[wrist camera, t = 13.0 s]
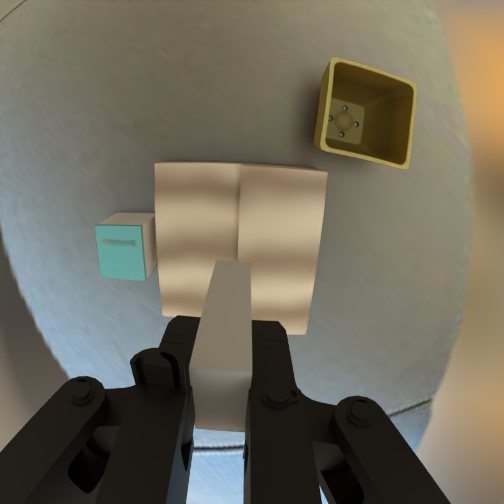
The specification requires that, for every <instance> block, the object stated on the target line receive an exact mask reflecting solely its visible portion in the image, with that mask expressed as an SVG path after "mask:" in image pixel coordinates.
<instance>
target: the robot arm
mask: <svg viewBox="0 0 504 504" xmlns="http://www.w3.org/2000/svg"><path fill="white" fill-rule="evenodd" d="M130 365H131V369H132V373H133V376H134V380H135V384H136V385H134V386H131V387H126V388H115V389H104V387H103V385H102V383H101V382H99V381H98V380H97V379H95V378H92V377H89V376H79V377H76V378H72V379H70V380H69V381H67V382H66V383H65V384H63V386H62V387H61V388H60V389H59V390H58V391H57V392H56V393H55V394H54V395H53V396H52V397H51V398H50V399H49V400H48V401H47V402H46V403H45V404H44V406H42V407H41V408H40V409H39V411H38V412H37V413H36V414H35V415H34V416H33V417H32V418H31V419H30V420H29V421H28V422H27V424H25V426H24V427H23V428H22V429H21V430H20V431H19V432H18V433H17V434H16V436H14V438H13V439H12V440H11V441H10V442H9V443H8V444H7V445H6V446H5V448H4V449H3V450H2V451H1V452H0V504H186V499H187V491H188V483H189V475H190V468H191V460H192V453H193V446H194V441H193V429H194V423H195V428H197V429H207V430H218V431H232V432H245V445H244V453H243V459H244V504H322V500H321V493H320V487H321V489H322V491H323V493H324V495H325V497H326V500H327V502H328V504H451V503H450V502H449V500H448V499H447V498H446V496H445V495H444V493H443V492H442V491H441V489H440V488H439V486H438V485H437V484H436V482H435V481H434V479H433V478H432V477H431V475H430V474H429V472H428V471H427V470H426V468H425V467H424V465H423V464H422V463H421V461H420V460H419V459H418V457H417V456H416V454H415V453H414V452H413V450H412V449H411V447H410V446H409V445H408V443H407V442H406V441H405V439H404V438H403V436H402V435H401V434H400V432H399V431H398V430H397V428H396V427H395V426H394V424H393V423H392V421H391V420H390V419H389V417H388V416H387V415H386V413H385V412H384V411H383V409H382V408H381V407H380V406H379V405H378V404H377V403H376V402H375V401H373V400H371V399H369V398H367V397H362V396H351V397H347V398H345V399H343V400H341V401H340V402H339V403H338V404H337V406H336V405H331V404H326V403H321V402H318V401H314V400H312V399H310V398H308V397H306V396H305V395H304V394H303V393H302V392H301V390H300V389H299V388H297V385H296V383H295V378H294V372H293V366H292V361H291V355H290V351H289V344H288V338H287V333H286V329H285V328H284V327H283V326H282V325H281V323H280V322H279V321H267V320H252V319H251V262H240V261H225V260H216V262H215V265H214V269H213V273H212V277H211V280H210V284H209V288H208V292H207V296H206V300H205V304H204V307H203V311H202V315H201V317H193V316H183V315H177V316H176V317H175V318H173V319H172V320H171V321H170V322H169V323H168V325H167V328H166V330H165V334H164V335H163V338H162V340H161V343H160V345H159V348H150V349H146V350H142V351H141V352H139V353H137V354H136V355H134V357H133V358H132V359H131V360H130ZM319 485H320V487H319Z"/></svg>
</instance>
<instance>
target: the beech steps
mask: <svg viewBox="0 0 504 504" xmlns="http://www.w3.org/2000/svg"><path fill="white" fill-rule="evenodd" d="M327 174H328V172H326V171H323V170H319V169H316V168H312V167H301V166H289V165H276V164H260V163H240V162H204V161H169V162H159V163H155V222H156V243H157V259H158V273H159V284H160V295H161V305H162V314H163V316H171V317H176V316H177V315H183V316H193V317H201V315H202V311H203V307H204V304H205V300H206V296H207V292H208V288H209V284H210V280H211V277H212V273H213V269H214V265H215V262H216V260H225V261H240V262H251V319H252V320H267V321H279V322H280V323H281V325H282V326H283V327H284V328H285V329H286V333H287V334H306V328H307V323H308V317H309V311H310V305H311V299H312V293H313V287H314V281H315V274H316V267H317V260H318V253H319V246H320V238H321V230H322V222H323V214H324V205H325V195H326V185H327Z"/></svg>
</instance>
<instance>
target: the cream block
mask: <svg viewBox="0 0 504 504" xmlns="http://www.w3.org/2000/svg"><path fill="white" fill-rule="evenodd" d="M95 232H96V241H97V249H98V257H99V264H100V271H101V277H105V278H116V279H128V280H141V281H146V279H147V278H148V276H149V275H150V274H151V272H152V271H153V269H154V268H155V267H156V265H157V264H158V259H157V243H156V222H155V213H116V214H114V215H112V216H110V217H109V218H107V219H105V220H103V221H102V222H100V223H98V224H97V225H95Z"/></svg>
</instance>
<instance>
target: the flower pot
mask: <svg viewBox="0 0 504 504" xmlns="http://www.w3.org/2000/svg"><path fill="white" fill-rule="evenodd" d="M416 97H417V88H416V84H415V83H413V82H411V81H409V80H406V79H404V78H401V77H398V76H395V75H393V74H390V73H387V72H384V71H381V70H378V69H375V68H372V67H369V66H366V65H363V64H360V63H357V62H353V61H350V60H346V59H342V58H337V57H332V58H331V60H330V62H329V64H328V66H327V68H326V70H325V72H324V74H323V77H322V81H321V90H320V99H319V107H318V115H317V122H316V129H315V135H314V145H315V146H316V147H317V148H319V149H322V150H323V151H326V152H331V153H336V154H341V155H346V156H351V157H355V158H360V159H364V160H369V161H373V162H377V163H380V164H384V165H388V166H391V167H395V168H398V169H402V170H405V169H407V168H408V166H409V160H410V153H411V143H412V133H413V124H414V115H415V107H416ZM343 106H346V107H347V110H346V111H344V110H343ZM329 116H331V117H332V120H328V118H329ZM354 122H357V123H358V126H357V127H355V126H354ZM340 132H343V134H344V136H343V137H340V135H339V133H340Z"/></svg>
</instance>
